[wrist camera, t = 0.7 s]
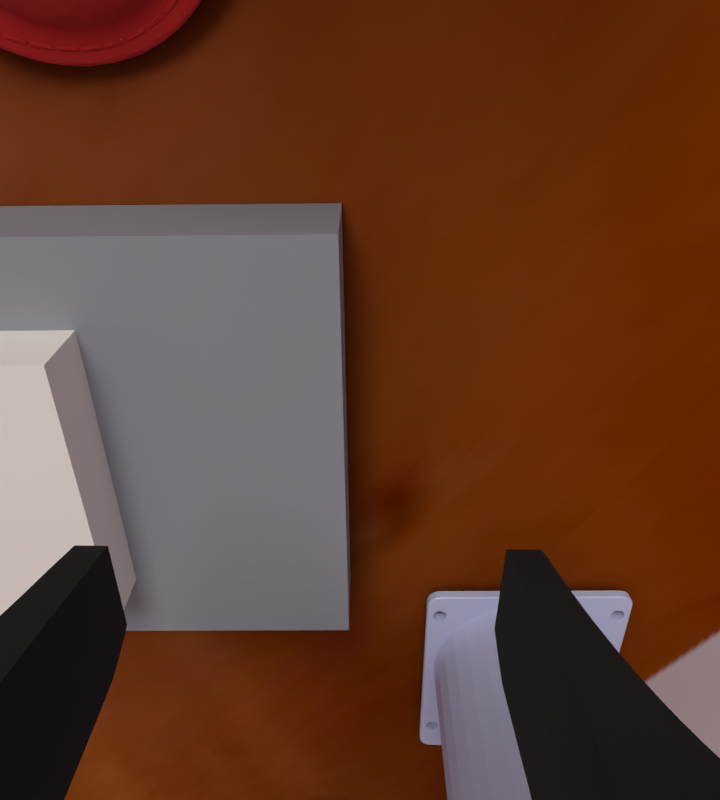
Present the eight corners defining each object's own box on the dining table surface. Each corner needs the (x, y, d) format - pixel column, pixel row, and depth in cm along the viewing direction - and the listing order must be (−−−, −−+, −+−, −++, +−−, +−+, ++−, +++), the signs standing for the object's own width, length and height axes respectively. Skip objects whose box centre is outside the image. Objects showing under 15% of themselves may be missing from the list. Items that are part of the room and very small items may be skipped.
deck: (350, 568, 26) (348, 630, 23) (-34, 569, 26) (-78, 631, 24) (341, 203, 19) (338, 234, 16) (-186, 207, 19) (-272, 239, 16)
